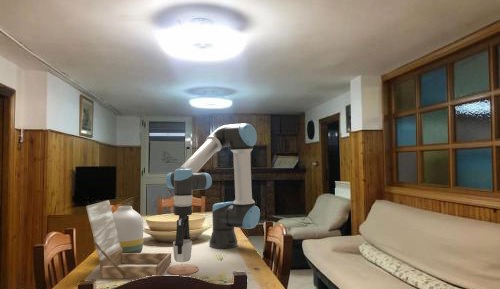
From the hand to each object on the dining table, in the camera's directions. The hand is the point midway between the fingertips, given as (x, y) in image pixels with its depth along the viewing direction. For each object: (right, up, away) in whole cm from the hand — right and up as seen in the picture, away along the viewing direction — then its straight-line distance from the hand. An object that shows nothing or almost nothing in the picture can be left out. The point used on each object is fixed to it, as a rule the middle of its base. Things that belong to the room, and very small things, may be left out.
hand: (182, 258), depth 159 cm
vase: (-32, -6, +23) cm, 40 cm away
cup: (0, -1, 0) cm, 1 cm away
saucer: (0, -5, 0) cm, 5 cm away
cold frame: (-22, -5, 0) cm, 23 cm away
